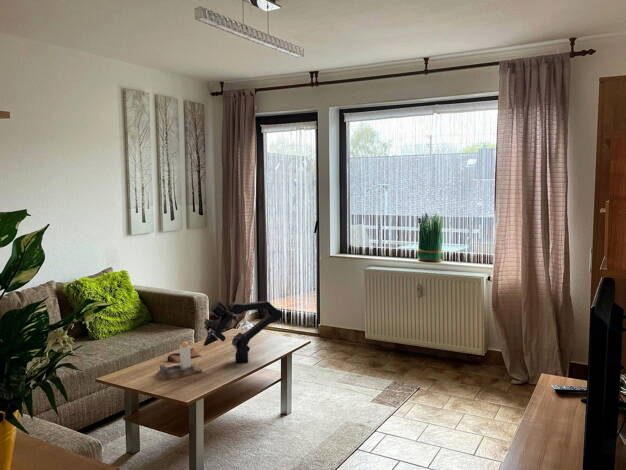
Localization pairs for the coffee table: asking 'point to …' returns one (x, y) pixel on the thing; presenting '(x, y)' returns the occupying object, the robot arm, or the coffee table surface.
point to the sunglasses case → (176, 357)
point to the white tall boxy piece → (185, 355)
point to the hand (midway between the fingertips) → (204, 345)
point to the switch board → (178, 371)
